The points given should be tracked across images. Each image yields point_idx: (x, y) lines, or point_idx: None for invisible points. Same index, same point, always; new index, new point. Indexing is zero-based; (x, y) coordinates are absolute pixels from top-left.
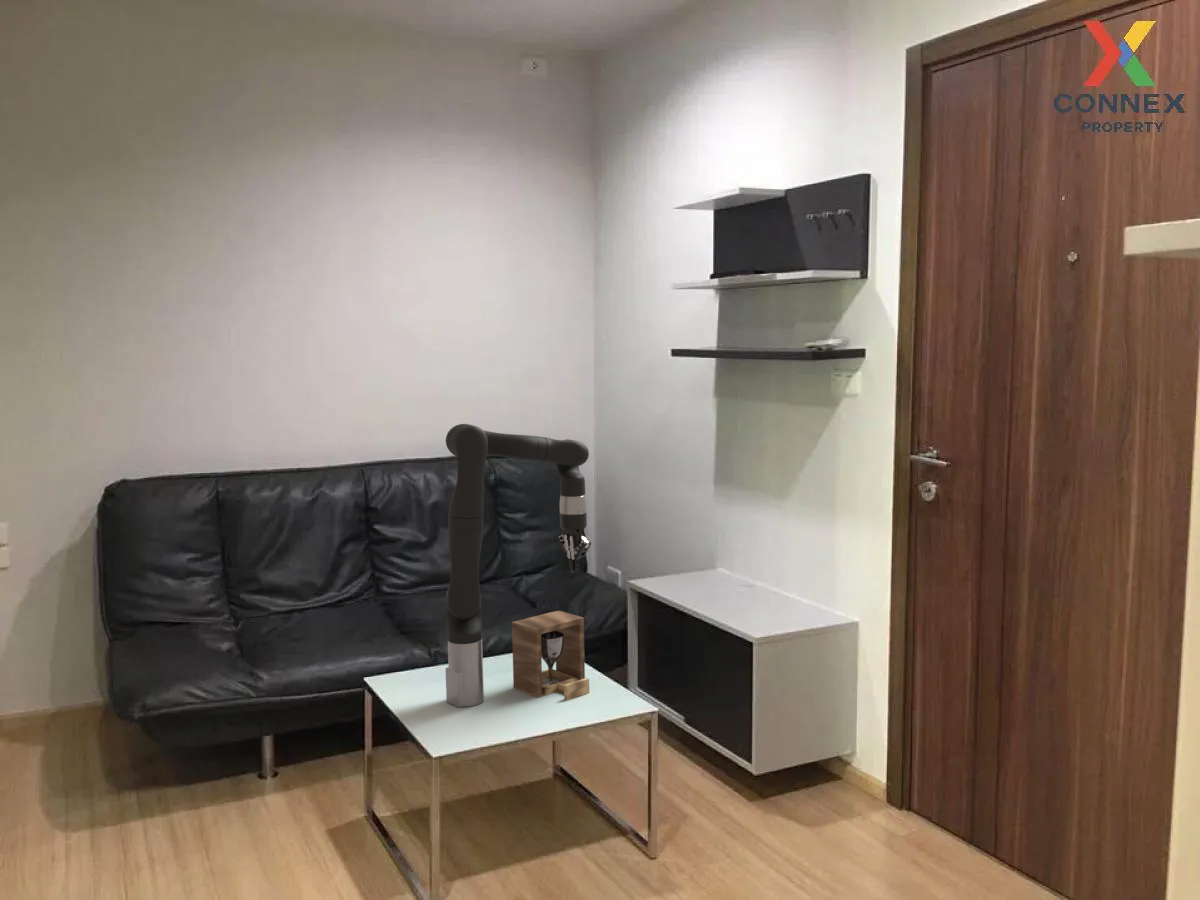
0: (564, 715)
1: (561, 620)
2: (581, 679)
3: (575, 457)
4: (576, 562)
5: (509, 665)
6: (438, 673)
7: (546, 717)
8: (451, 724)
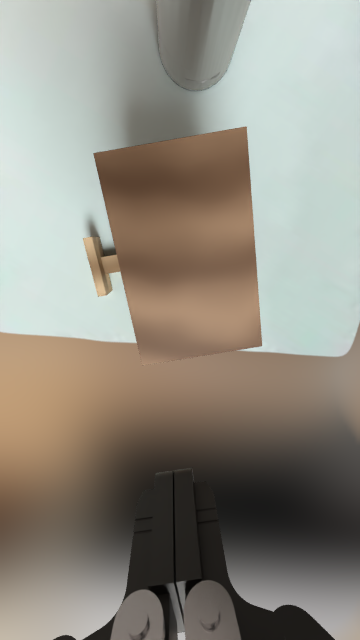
0: (20, 190)
1: (153, 294)
2: (102, 282)
3: None
4: (130, 571)
5: (324, 245)
6: None
7: (25, 153)
8: None
